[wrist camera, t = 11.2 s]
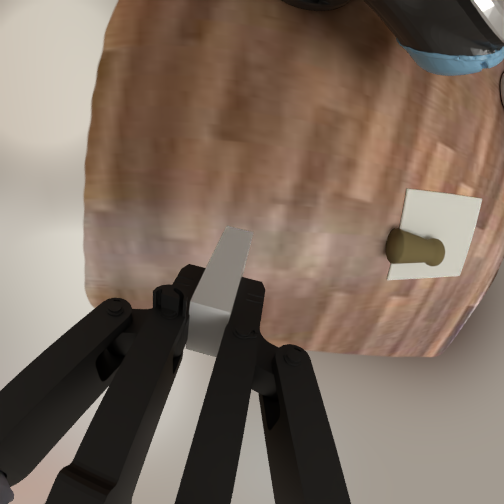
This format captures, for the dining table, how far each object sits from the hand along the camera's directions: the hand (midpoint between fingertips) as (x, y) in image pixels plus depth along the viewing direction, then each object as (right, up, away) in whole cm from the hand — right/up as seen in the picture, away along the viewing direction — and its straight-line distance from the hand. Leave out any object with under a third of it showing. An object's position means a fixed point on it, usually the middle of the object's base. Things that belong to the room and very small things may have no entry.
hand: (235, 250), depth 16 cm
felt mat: (+37, +3, +31) cm, 48 cm away
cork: (+25, +1, +28) cm, 38 cm away
